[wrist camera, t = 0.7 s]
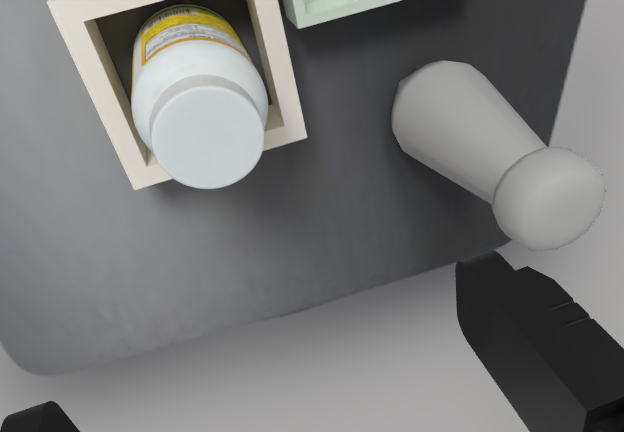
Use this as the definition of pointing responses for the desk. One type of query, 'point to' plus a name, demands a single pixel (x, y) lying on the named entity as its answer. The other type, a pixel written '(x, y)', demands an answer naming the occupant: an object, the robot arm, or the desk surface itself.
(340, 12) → the tray
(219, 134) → the supplement bottle
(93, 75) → the white square frame
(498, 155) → the salt shaker
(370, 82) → the desk surface
